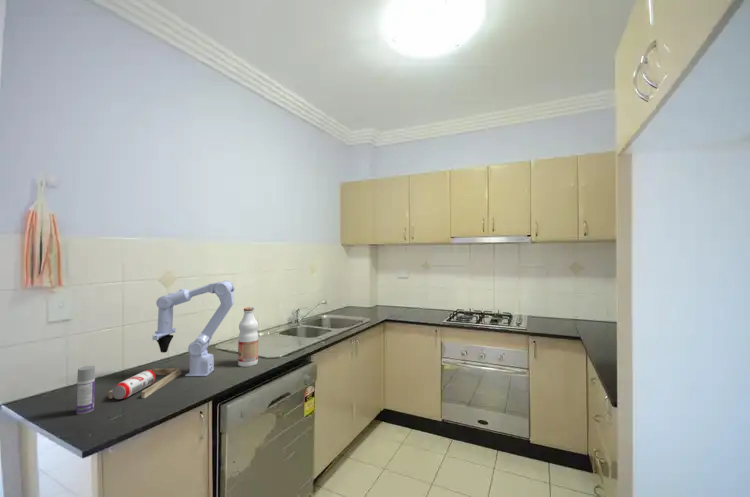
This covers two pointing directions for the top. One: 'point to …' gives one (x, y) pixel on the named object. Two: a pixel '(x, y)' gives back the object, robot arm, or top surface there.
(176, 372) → the u rest
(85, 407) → the container
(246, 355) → the fruit juice
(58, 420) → the top surface
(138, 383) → the beer can
